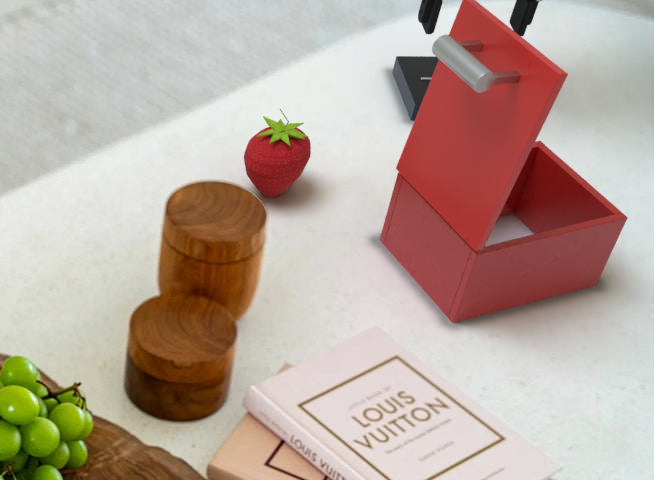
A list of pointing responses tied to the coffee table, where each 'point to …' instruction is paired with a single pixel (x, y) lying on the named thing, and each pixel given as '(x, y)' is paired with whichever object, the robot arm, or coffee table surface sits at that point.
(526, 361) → the coffee table surface
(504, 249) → the red open box
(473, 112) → the hatch
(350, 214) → the coffee table surface
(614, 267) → the coffee table surface
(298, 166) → the strawberry
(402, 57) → the panel
